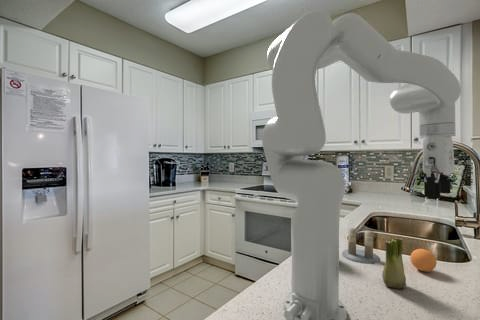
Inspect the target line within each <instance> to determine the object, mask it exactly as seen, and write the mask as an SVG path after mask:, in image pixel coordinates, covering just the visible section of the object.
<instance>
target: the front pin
mask: <svg viewBox="0 0 480 320" xmlns="http://www.w3.org/2000/svg"><path fill="white" fill-rule="evenodd" d="M364 250H365V258H368V259H373V253H374V232H373V231H372V230H367V229H366V230H364Z"/></svg>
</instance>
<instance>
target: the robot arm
mask: <svg viewBox="0 0 480 320" xmlns="http://www.w3.org/2000/svg"><path fill="white" fill-rule="evenodd" d="M266 61H267V64H268V66H269V68H270V69H271V71H272V74H271V75H272V76H271V91H272V92H271V93H272V98H273V101H274V102H273V103H274V108H275V113H276V116H274V117H273V118H271V119H270V120H269V121H267V122H266V124H265V125H264V127H263V130H262V136H261V137H262V139H261V142H262V147H263V152H264V157H265V159H266V163H267V164H266V165H267V167H268V172H269V176H270V179H271V182H272V186H273V187H274V189H275V190H276V193H278V194H279V195H280V196H281V197H284V198H285V199H287V200H291V201H293V202H294V201H295V202H297V206H296V209H295V211H294V213H293V216H292V219H291V220H292V222H291V292H289V293H288V294H287V295H285V298H284V302H283V305H284V310H285V311H284V313H283V317H284V319H286V320H347V318H348V309H347V307H346V306H345V304H344V303H343V302H342V301H341V300H340V294H339V292H340V290H339V289H340V288H339V287H340V286H339V285H340V280H339V279H340V219H341V216H340V215H341V210H342V209H341V208H342V204H343V201H344V200H343V199H344V194H345V190H346V189H345V188H346V182H345V178H344V175H343V173H342V171H341V169H339V168H338V167H337V166H336V165H335V164H332V163H331V162H328V161H325V160H318V159H317V160H316V159H315V160H314V159H312V160H311V159H305V160H304V159H303V156H306V157H307V156H310V155H315V154H316V153H319V152H321V150H322V149H324V146H325V144H326V139H327V138H326V137H327V135H326V129H325V124H324V119H323V115H322V111H321V105H320V103H319V98H318V93H317V92H318V91H317V87H316V86H317V85H316V73H317V71H318V70H320V69H321V70H322V69H324V68H326V67H329V66H330V65H331V66H332V65H333V64H335V63H338V62H339V61H340V62H342V63H344V64H345V65H347V66H348V67H349V68H351V69H352V70H353V71H354V72H355V73H357V74H358V75H359V76H360V77H361V78H362V79H364V80H365V81H367V82H370V83H376V84H377V83H379V84H404V85H401V86H399V87H397V88H396V89H394V90H393V92H392V93H391V94H390V97H389V104H390V106H391V108H392V110H394V111H395V112H397V113H400V114H414V113H418V114H419V115H418V117H419V126H418V127H419V138H420V139H422V172H423V173H424V174H423V175H424V178H423V183H424V185H423V187H424V188H423V189H424V191H423V192H424V194H423V195H424V198H426V199H428V198H429V199H436V200H437V199H441V194H448V195H449V194H451V175H450V174H453V173H454V172H455V166H456V165H455V156H454V155H455V152H454V142H453V137H456V129H457V128H456V103H457V101H458V100H459V98H460V96H461V91H462V90H461V89H462V88H461V84H460V81H459V79H458V78H457V76H456V75H455V74H454V72H452V70H450V69H449V68H448V66H446V64H445V63H444V62H442V61H440V60H439V59H437V58H434V57H432V56H429V55H425V54H421V53H416V52H413V51H407V50H400V49H397V48H396V47H395V46H393V45H392V44H391V43H390V42H389V41H388V40H387V39H386V38H385V37H383V35H381V34H380V32H378V31H377V30H376V29H375V28H374V27H373V26H371V24H369V22H367V21H366V19H364V18H363V17H361V15H360V14H357V13H353V12H352V13H351V12H350V13H349V12H348V13H345V14H342V15H341V16H338V17H337V18H335V19H333V20H332V18H331V16H330V15H329V13H327V12H326V11H325V10H322V9H313V10H310V11H307V12H306V13H304V14H302V15H300V17H299V18H298V19H297V20H295V22H293V23H292V24H290V26H289V27H288V28H286V30H285V31H284V32H283V33H282V34H280V35H279V36H278V37H277V38H276V39H275V40H274V41H273V42H272V43H271V44H270V46H269V48H268V50H267V55H266Z"/></svg>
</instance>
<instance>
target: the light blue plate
mask: <svg viewBox="0 0 480 320" xmlns="http://www.w3.org/2000/svg"><path fill="white" fill-rule="evenodd" d="M341 254H342V256H343V257H345V259H348V260H349V261H353V262H356V263H361V264H362V263H363V264H376V263H378V262H379V261H381V260H380V257H379V256H378V255H377V254H376V253H374V252H373V259H368V258H365V249H358V248H356V255H351V254H349V253H348V248H347V249H344V250H343V251H342V253H341Z"/></svg>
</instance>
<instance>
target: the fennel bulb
mask: <svg viewBox="0 0 480 320" xmlns="http://www.w3.org/2000/svg"><path fill="white" fill-rule="evenodd" d="M402 254H403V239H402V238H399V237H392V239H391V241H390V240H385V263H384V266H383V270H382V275H381V277H382V281H383V284H384V285H385V286H387V287H389V288H394V289H397V290H401V289H404V288H405V287H406V285H407V279H406V274H405V267H404V262H403V255H402Z"/></svg>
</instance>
